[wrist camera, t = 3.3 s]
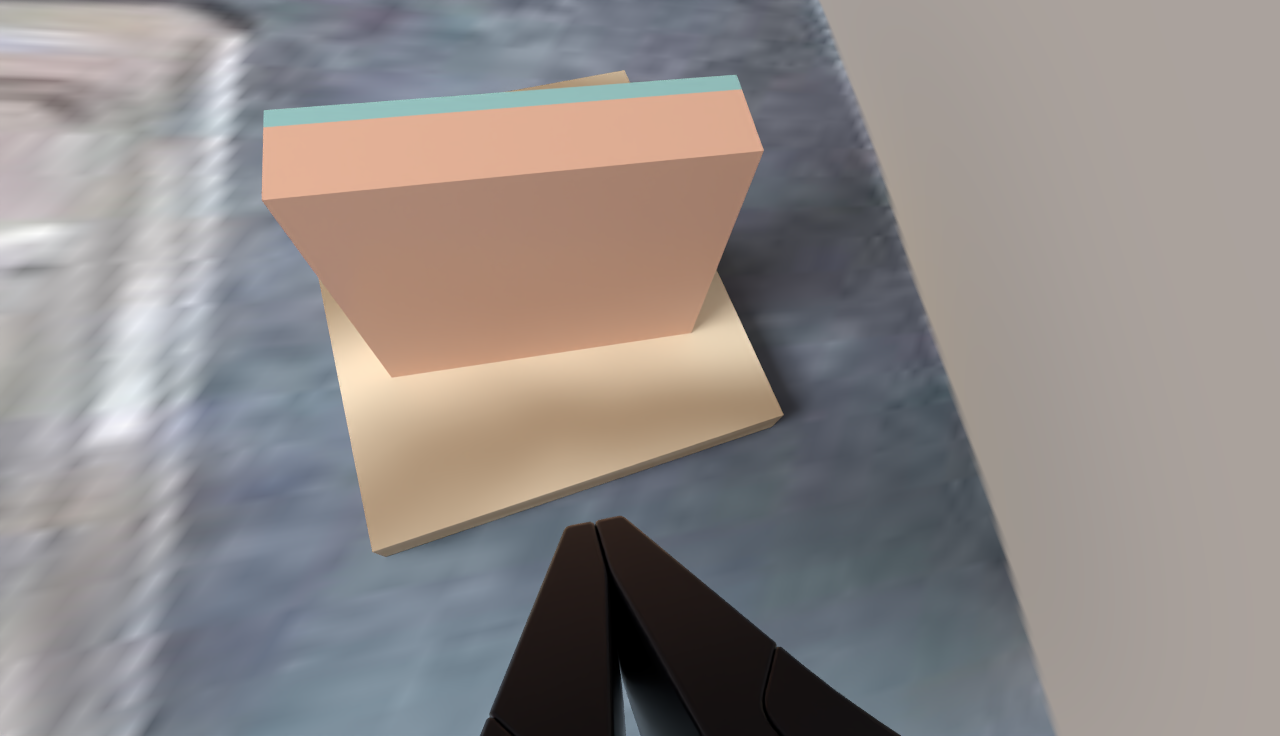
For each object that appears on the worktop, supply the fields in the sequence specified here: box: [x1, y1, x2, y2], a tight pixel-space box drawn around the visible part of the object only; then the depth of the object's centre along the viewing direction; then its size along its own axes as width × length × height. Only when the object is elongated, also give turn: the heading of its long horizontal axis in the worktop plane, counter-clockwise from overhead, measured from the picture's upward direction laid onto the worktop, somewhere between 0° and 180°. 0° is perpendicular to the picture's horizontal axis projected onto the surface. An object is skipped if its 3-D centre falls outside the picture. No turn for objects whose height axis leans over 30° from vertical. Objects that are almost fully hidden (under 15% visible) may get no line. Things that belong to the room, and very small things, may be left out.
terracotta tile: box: [262, 75, 764, 378], centre depth 15 cm, size 2×9×8 cm, turn 102°
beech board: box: [319, 70, 784, 557], centre depth 20 cm, size 14×12×1 cm
